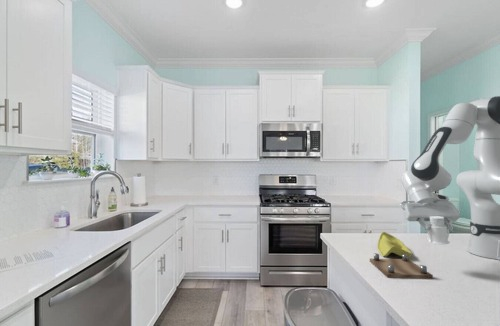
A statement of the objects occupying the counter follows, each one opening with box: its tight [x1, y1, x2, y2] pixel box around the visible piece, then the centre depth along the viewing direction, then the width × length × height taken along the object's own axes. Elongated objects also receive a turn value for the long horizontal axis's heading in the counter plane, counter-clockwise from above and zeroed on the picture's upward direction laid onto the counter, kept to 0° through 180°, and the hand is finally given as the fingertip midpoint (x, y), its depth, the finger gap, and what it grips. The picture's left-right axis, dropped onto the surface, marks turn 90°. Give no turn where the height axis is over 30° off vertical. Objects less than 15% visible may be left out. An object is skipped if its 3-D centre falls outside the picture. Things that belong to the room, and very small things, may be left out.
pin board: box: [369, 252, 434, 279], centre depth 101 cm, size 16×16×4 cm
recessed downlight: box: [426, 216, 451, 245], centre depth 101 cm, size 8×7×10 cm
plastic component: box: [377, 231, 413, 260], centre depth 122 cm, size 20×7×10 cm
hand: (439, 229), depth 100 cm, fingers closed on recessed downlight, 7 cm apart
